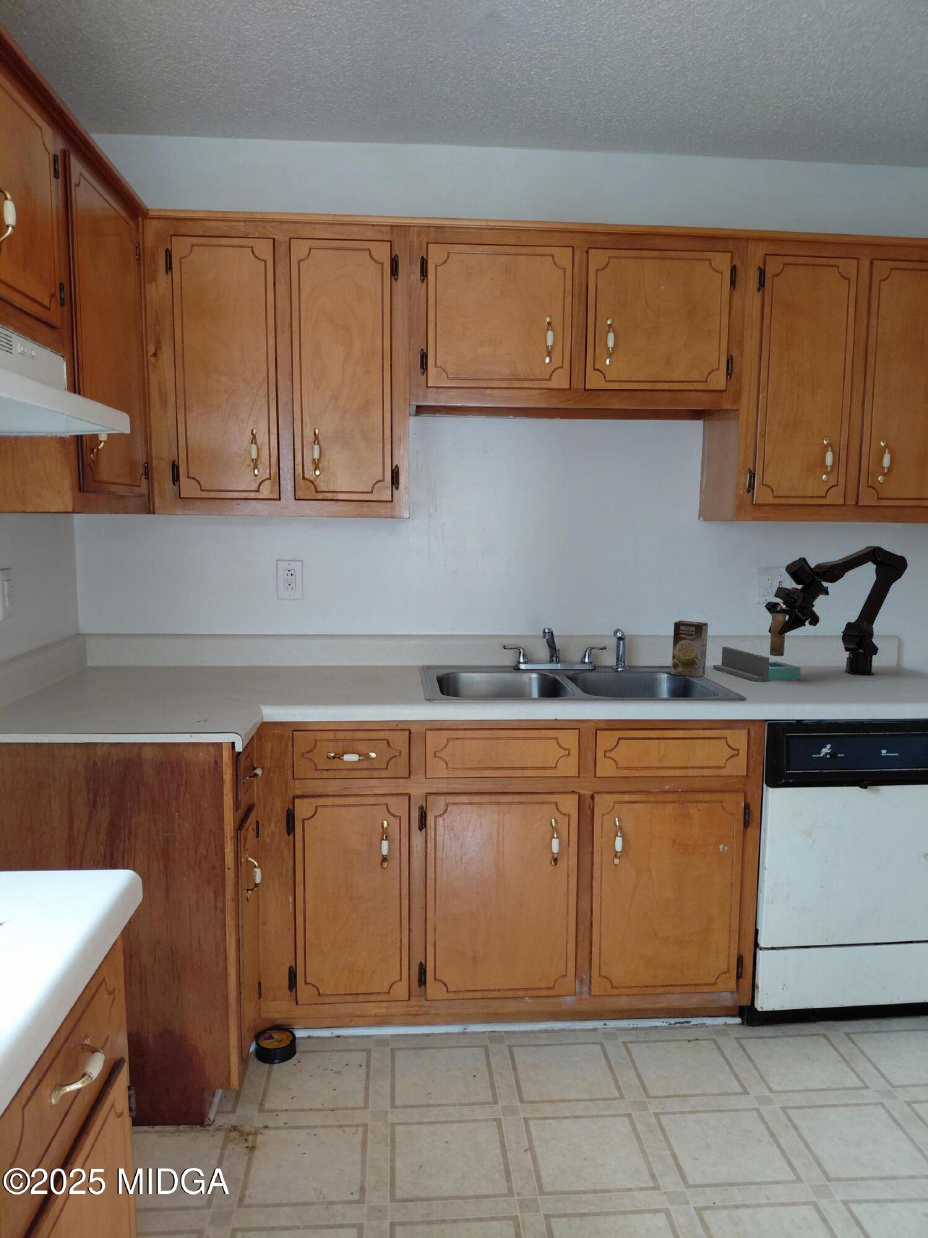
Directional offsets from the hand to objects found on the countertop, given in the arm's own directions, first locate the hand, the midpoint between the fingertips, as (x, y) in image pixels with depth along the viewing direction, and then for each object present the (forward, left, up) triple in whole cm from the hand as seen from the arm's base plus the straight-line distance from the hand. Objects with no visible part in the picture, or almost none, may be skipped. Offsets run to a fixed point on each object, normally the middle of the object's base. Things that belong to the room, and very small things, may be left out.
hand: (774, 633), depth 259 cm
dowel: (-1, 0, -7) cm, 7 cm away
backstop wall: (+8, -4, -13) cm, 16 cm away
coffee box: (+24, -3, -14) cm, 28 cm away
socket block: (-1, -2, -14) cm, 14 cm away
